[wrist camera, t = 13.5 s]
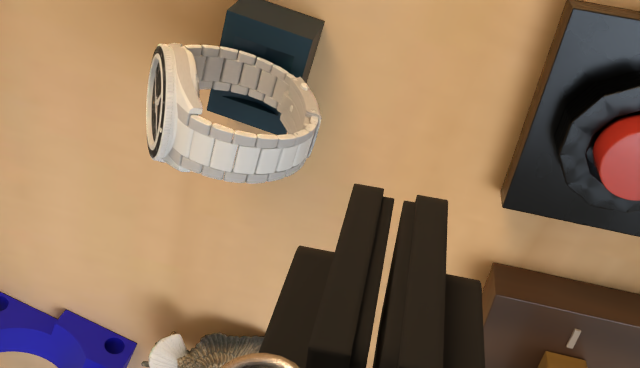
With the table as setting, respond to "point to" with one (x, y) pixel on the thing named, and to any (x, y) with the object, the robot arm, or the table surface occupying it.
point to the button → (620, 157)
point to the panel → (557, 320)
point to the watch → (238, 96)
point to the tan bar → (560, 361)
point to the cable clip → (61, 337)
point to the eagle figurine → (201, 351)
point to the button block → (578, 120)
